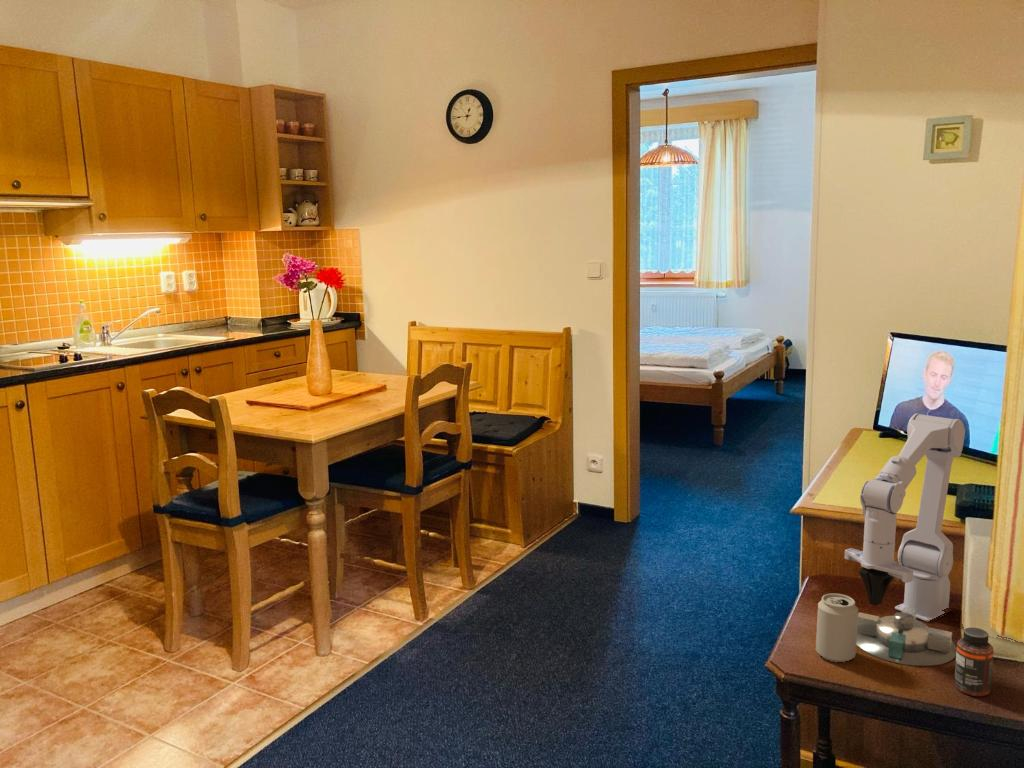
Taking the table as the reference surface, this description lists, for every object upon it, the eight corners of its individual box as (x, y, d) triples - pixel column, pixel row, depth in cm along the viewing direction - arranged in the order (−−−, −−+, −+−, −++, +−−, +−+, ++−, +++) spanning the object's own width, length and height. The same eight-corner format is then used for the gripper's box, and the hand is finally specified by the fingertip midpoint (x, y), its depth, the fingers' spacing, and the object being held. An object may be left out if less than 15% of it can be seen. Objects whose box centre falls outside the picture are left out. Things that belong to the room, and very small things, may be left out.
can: (858, 666, 165) (862, 608, 163) (818, 663, 166) (821, 605, 164) (851, 647, 172) (854, 592, 170) (812, 644, 174) (815, 589, 171)
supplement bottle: (984, 682, 158) (989, 626, 156) (995, 699, 153) (1000, 641, 150) (949, 679, 160) (954, 623, 158) (958, 696, 154) (963, 638, 152)
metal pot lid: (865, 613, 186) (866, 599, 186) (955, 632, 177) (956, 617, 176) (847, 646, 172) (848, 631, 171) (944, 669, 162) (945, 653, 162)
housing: (888, 611, 188) (889, 587, 187) (977, 647, 171) (979, 622, 170) (829, 635, 177) (830, 610, 176) (918, 676, 161) (920, 649, 160)
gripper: (835, 532, 173) (832, 594, 175) (898, 555, 160) (893, 622, 163) (859, 525, 176) (855, 587, 179) (922, 547, 164) (917, 613, 166)
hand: (875, 603), depth 171 cm, fingers closed
